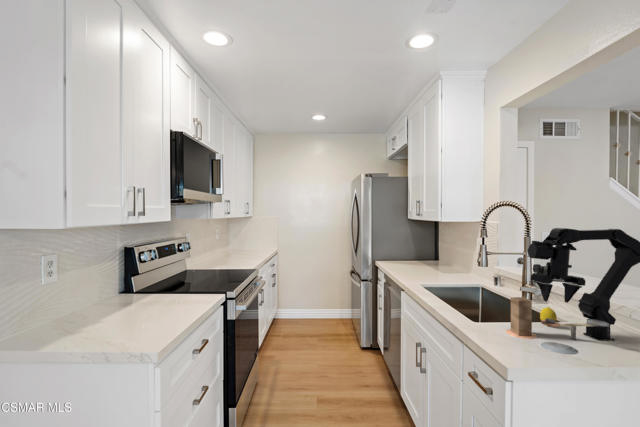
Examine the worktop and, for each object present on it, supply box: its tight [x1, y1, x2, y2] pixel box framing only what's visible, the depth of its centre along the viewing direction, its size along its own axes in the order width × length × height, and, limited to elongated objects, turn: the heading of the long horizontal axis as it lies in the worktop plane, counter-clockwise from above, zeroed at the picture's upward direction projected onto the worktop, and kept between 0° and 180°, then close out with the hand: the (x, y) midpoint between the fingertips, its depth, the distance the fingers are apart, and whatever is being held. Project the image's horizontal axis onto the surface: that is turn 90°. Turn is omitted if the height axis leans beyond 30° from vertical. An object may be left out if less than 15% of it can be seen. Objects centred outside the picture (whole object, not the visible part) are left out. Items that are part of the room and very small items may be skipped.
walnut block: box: [510, 296, 533, 336], centre depth 118 cm, size 5×5×13 cm
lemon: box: [539, 306, 557, 328], centre depth 130 cm, size 6×6×8 cm
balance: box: [540, 318, 609, 341], centre depth 113 cm, size 19×6×9 cm, turn 53°
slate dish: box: [540, 341, 579, 355], centre depth 105 cm, size 10×10×1 cm
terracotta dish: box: [505, 328, 538, 340], centre depth 118 cm, size 10×10×1 cm
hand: (555, 301), depth 120 cm, fingers open, 9 cm apart
